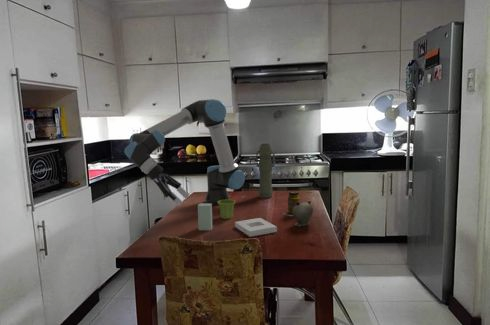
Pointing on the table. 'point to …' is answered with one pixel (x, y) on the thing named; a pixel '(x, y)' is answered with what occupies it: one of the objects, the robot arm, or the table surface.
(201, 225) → the key block
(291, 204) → the condiment
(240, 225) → the socket plate
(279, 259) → the table surface
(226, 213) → the plant pot
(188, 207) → the table surface
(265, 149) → the thermos
